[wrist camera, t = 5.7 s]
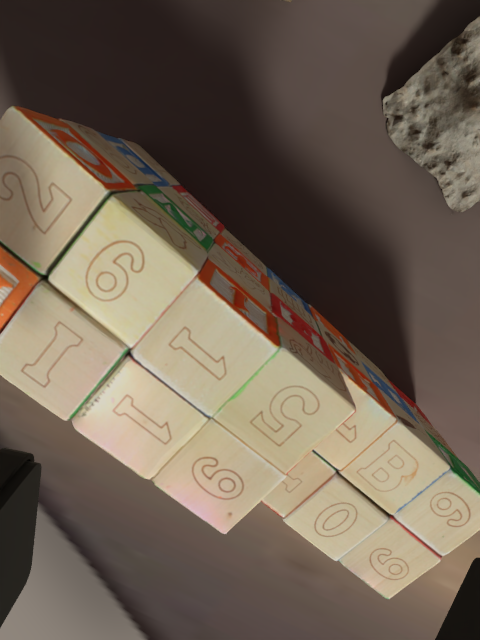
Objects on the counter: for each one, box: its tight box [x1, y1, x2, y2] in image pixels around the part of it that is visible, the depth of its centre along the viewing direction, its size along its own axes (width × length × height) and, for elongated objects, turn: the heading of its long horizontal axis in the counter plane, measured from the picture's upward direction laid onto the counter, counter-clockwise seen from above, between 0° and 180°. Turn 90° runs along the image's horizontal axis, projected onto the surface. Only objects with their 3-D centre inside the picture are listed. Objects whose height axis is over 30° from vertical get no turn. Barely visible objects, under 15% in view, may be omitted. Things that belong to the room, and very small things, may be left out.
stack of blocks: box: [0, 106, 480, 599], centre depth 19 cm, size 21×6×12 cm, turn 48°
